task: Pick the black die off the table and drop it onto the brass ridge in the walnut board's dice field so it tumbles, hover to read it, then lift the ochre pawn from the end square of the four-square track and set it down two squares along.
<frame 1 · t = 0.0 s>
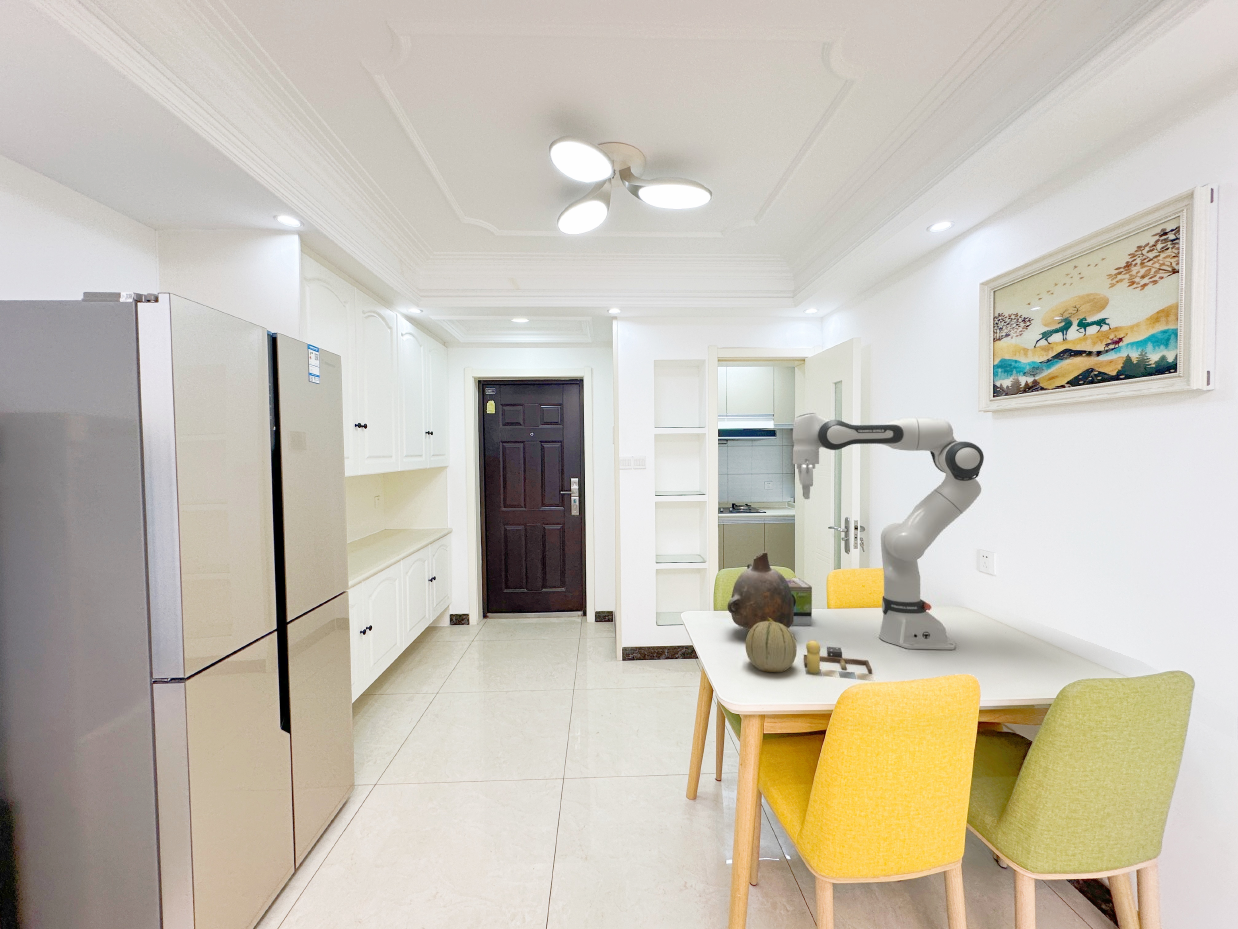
hand: (806, 498, 191), 48 cm above the table, fingers open, 8 cm apart
tea box: (793, 620, 207), on the table
board: (837, 673, 156), on the table
cantaloupe: (771, 672, 158), on the table
jug: (761, 636, 189), on the table
die: (834, 662, 164), on the table
pawn: (813, 671, 154), point 1 cm above the table, touching board
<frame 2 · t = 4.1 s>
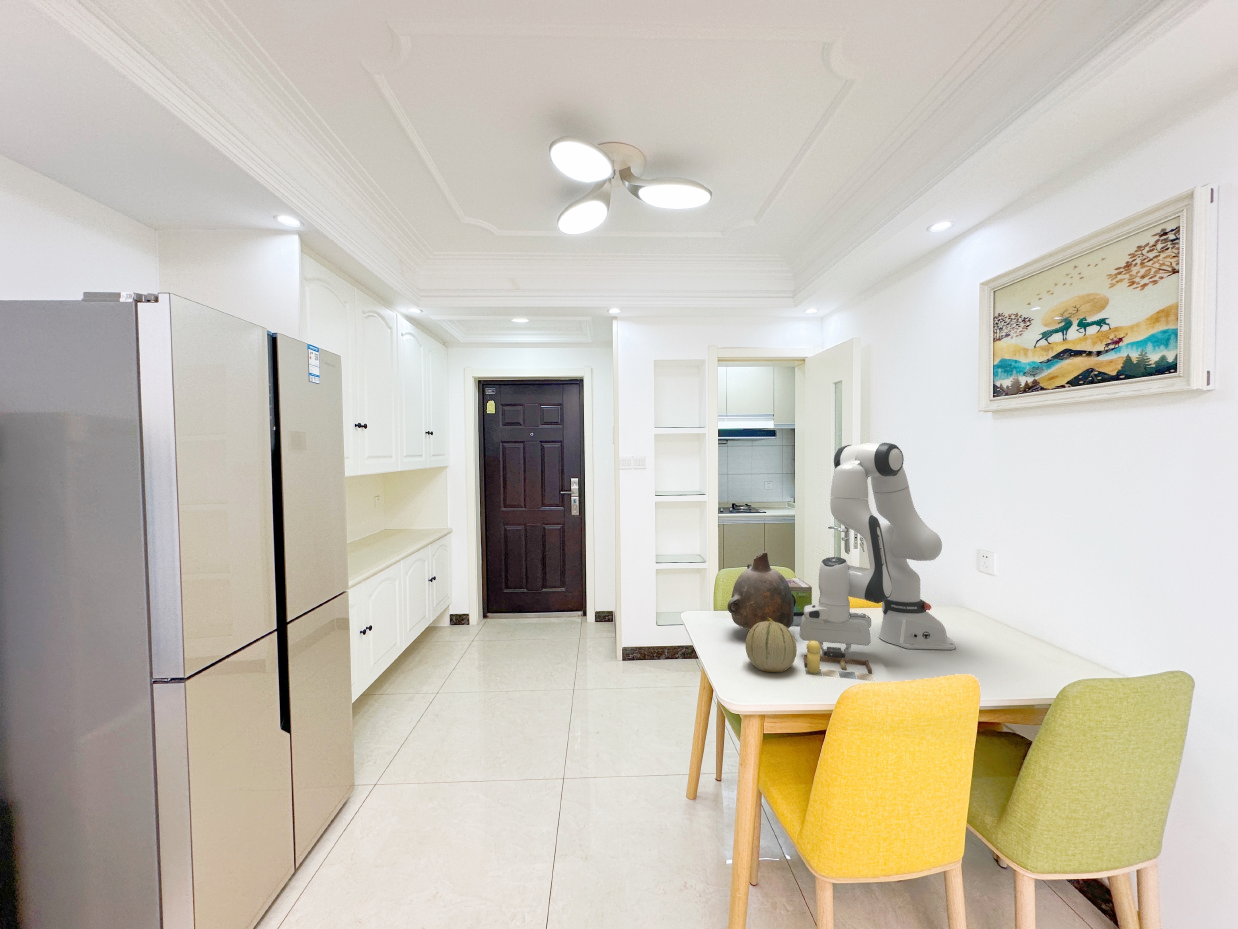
hand: (834, 656, 164), 2 cm above the table, fingers closed on die, 4 cm apart
die: (834, 662, 164), on the table, touching gripper
everything else where it was.
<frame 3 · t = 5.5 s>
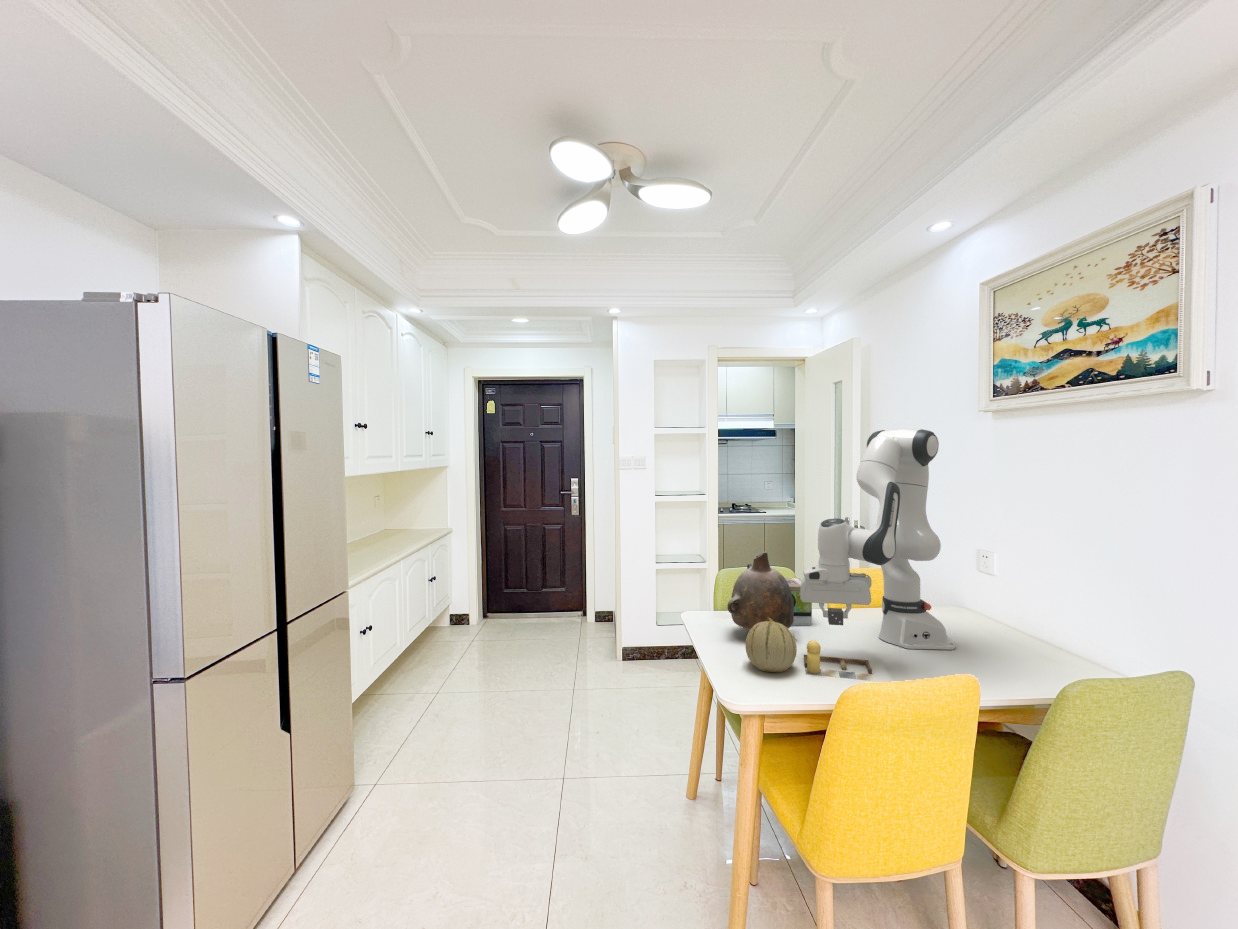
hand: (835, 617, 164), 14 cm above the table, fingers closed on die, 4 cm apart
die: (835, 623, 164), point 12 cm above the table, touching gripper
everything else where it was.
when the fingers open (8 cm above the table, at t = 6.9 s): die drops 4 cm and tips over, resting on board.
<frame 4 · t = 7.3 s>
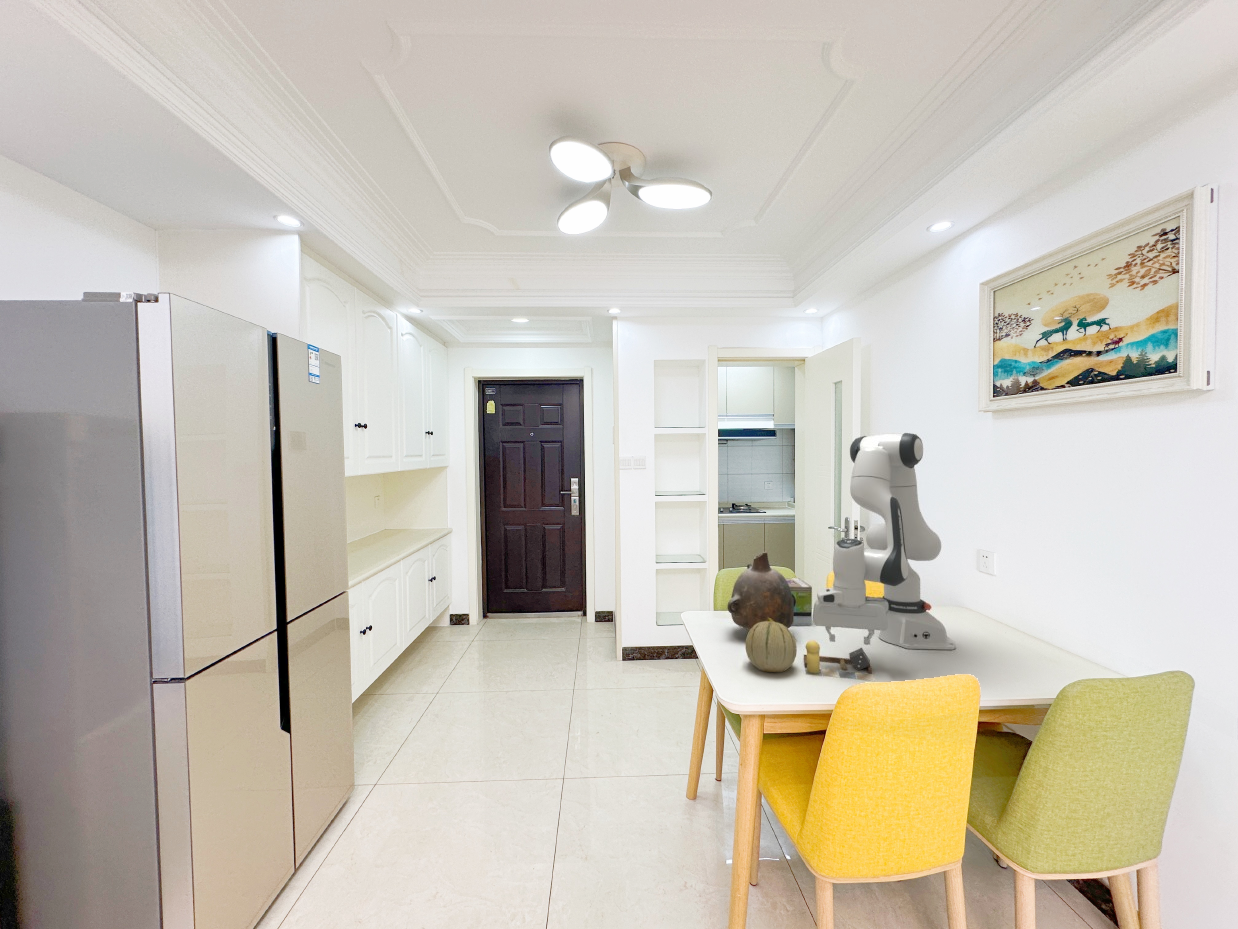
hand: (849, 642, 157), 8 cm above the table, fingers open, 8 cm apart
die: (853, 662, 157), point 3 cm above the table, tilted 58°, touching board
everything else where it was.
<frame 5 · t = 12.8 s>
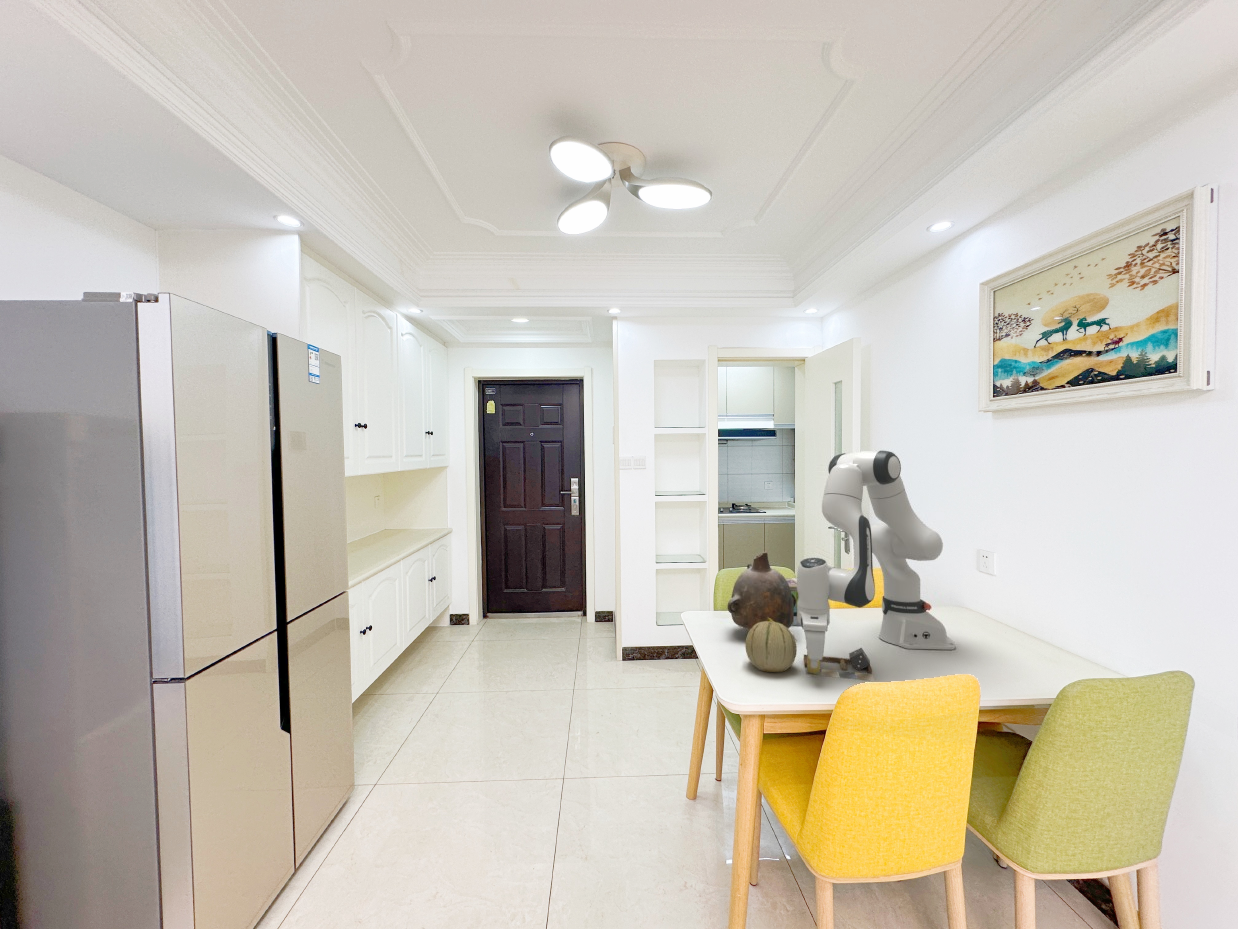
hand: (813, 663, 154), 3 cm above the table, fingers closed on pawn, 3 cm apart
pawn: (813, 671, 154), point 1 cm above the table, touching board, gripper
everything else where it was.
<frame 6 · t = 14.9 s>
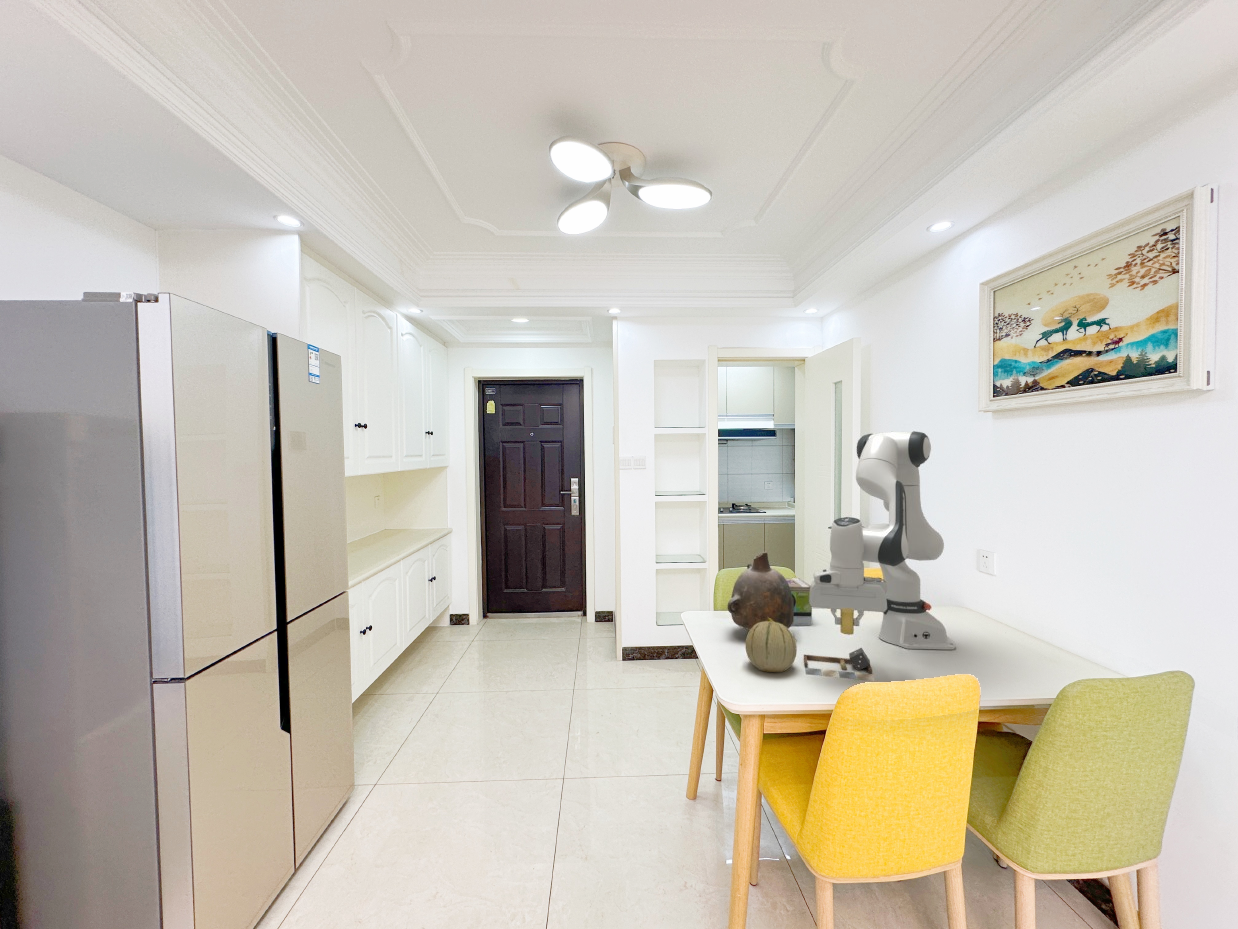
hand: (847, 624, 151), 15 cm above the table, fingers closed on pawn, 3 cm apart
pawn: (846, 632, 151), point 13 cm above the table, touching gripper
everything else where it was.
when the fingers open (4 cm above the table, at t = 17.0 s): pawn drops 1 cm, resting on board.
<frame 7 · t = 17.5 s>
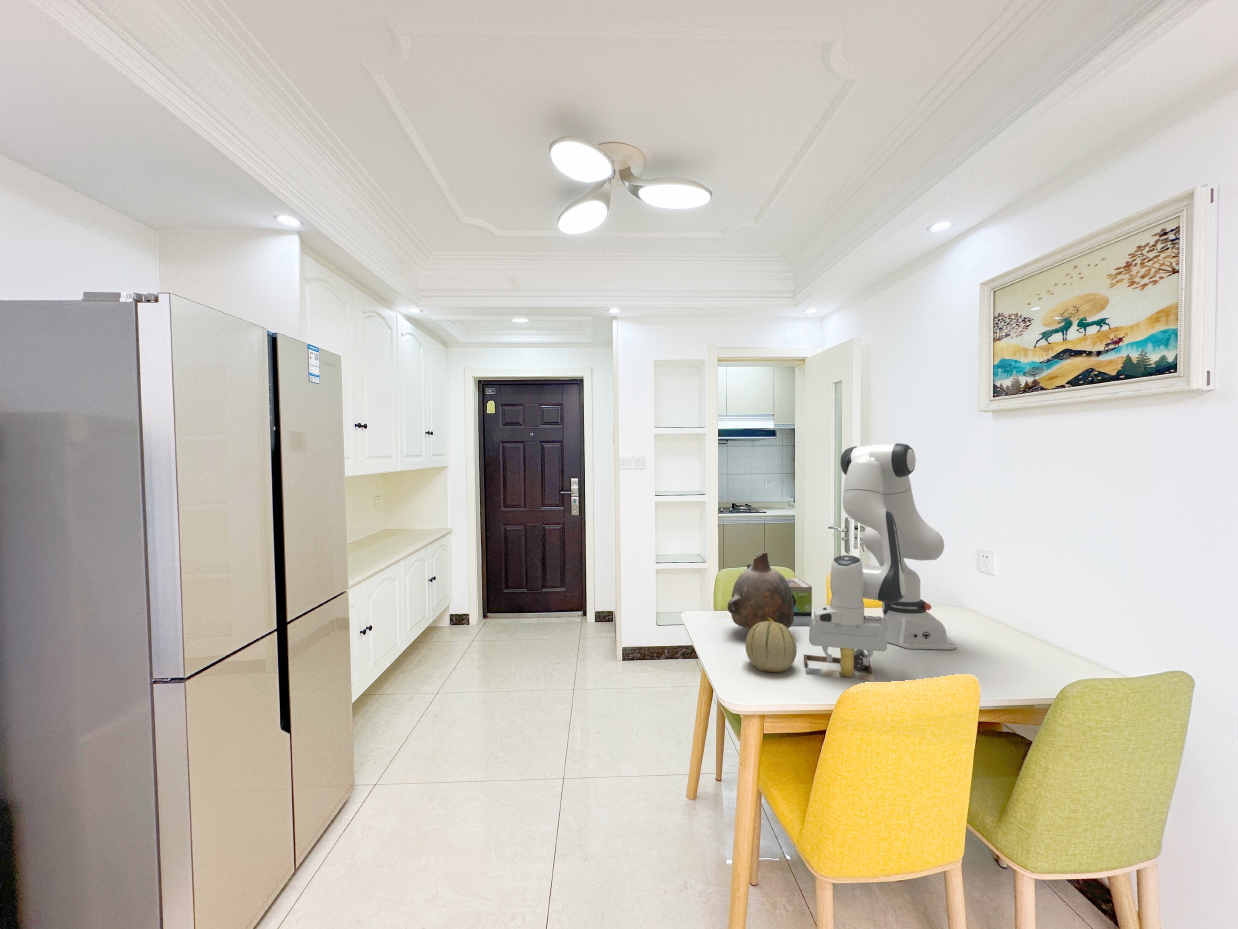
hand: (847, 663, 152), 4 cm above the table, fingers open, 8 cm apart
pawn: (847, 674, 152), point 1 cm above the table, touching board
everything else where it was.
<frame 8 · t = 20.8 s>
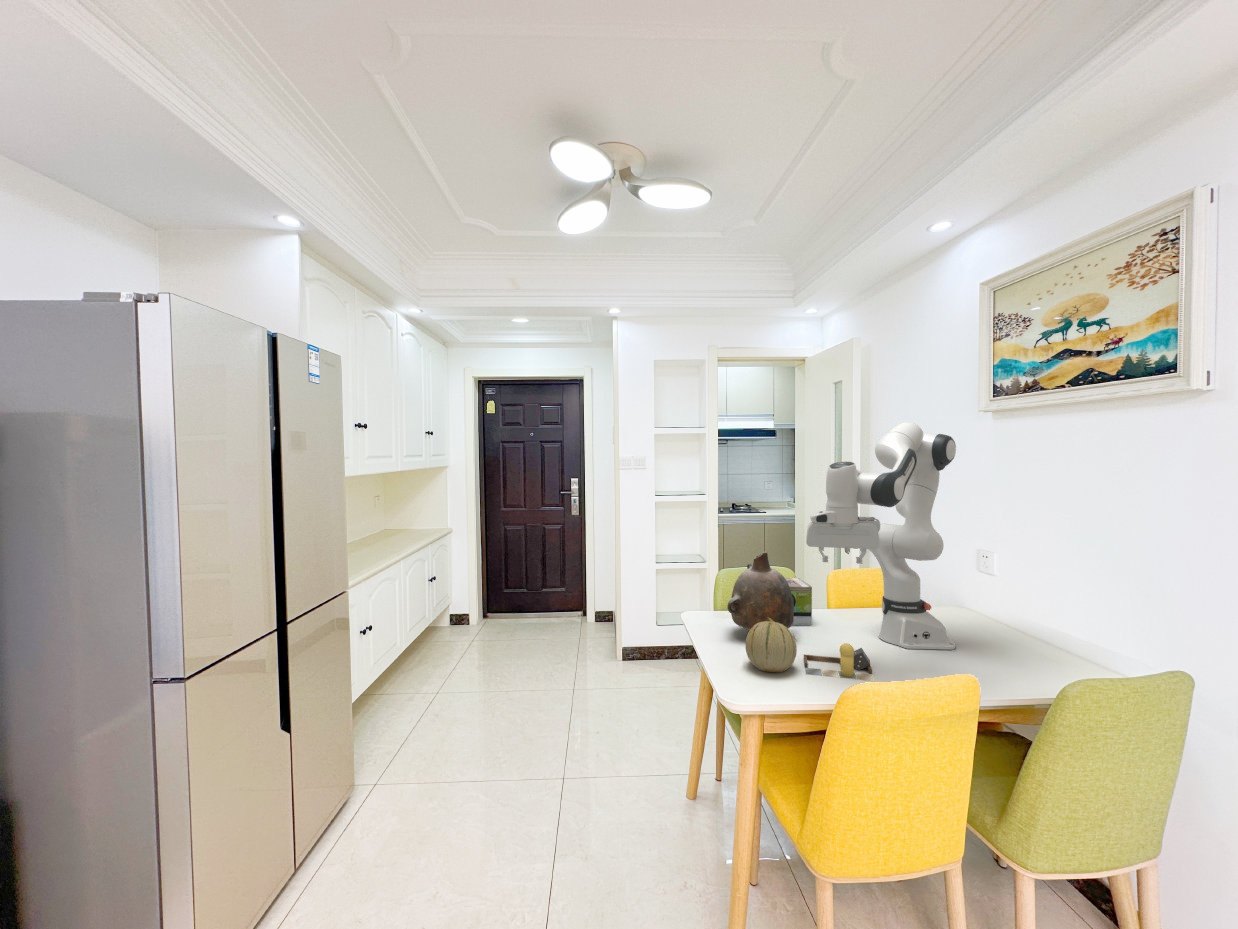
hand: (842, 562, 160), 31 cm above the table, fingers open, 8 cm apart
nothing on the table moved.
at the end: pawn 0.1 cm from the target spot on the board, point 1.2 cm above the board's base; pawn tilted 1°; die inside the target area on the board (4.6 cm from its centre), point 2.7 cm above the board's base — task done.
